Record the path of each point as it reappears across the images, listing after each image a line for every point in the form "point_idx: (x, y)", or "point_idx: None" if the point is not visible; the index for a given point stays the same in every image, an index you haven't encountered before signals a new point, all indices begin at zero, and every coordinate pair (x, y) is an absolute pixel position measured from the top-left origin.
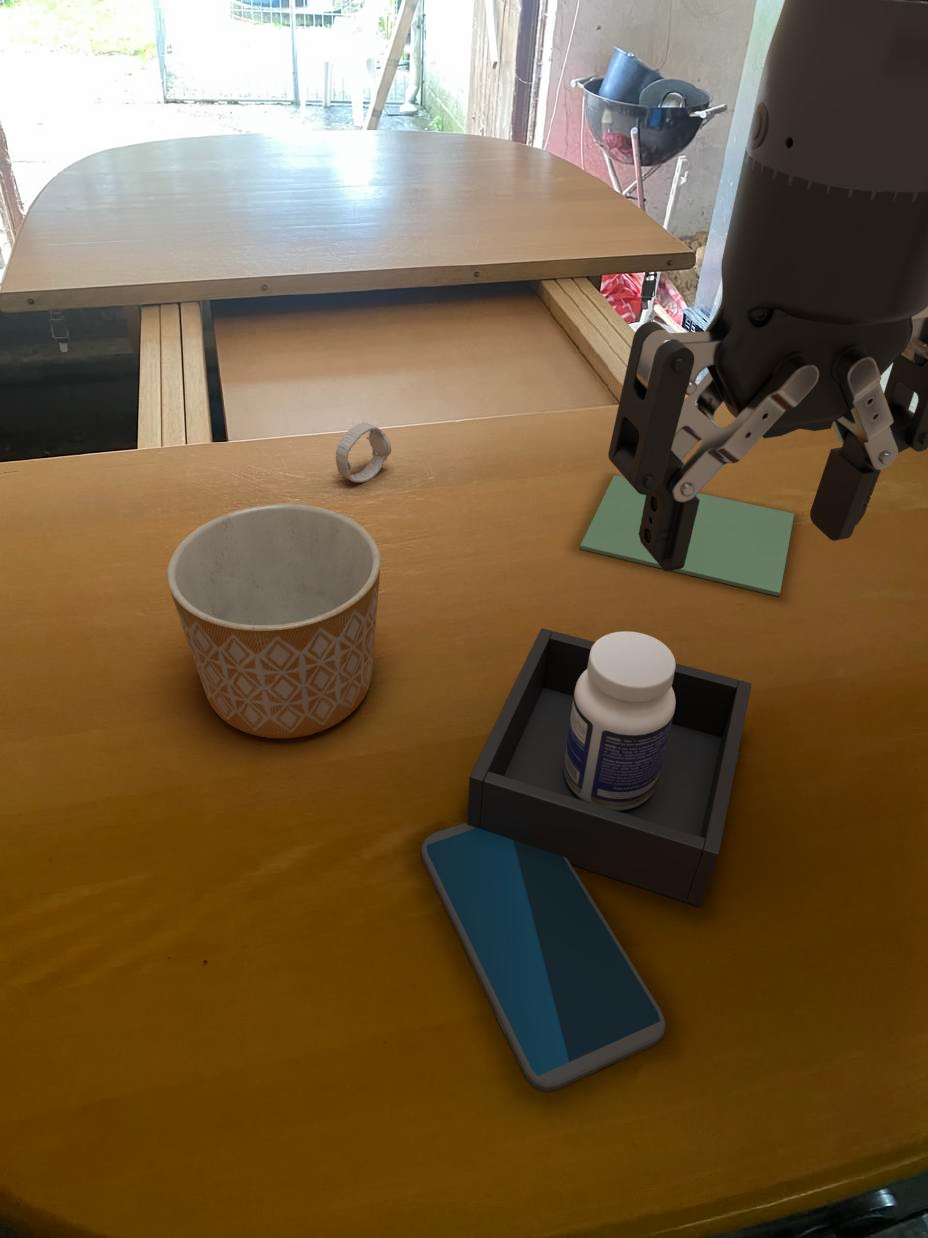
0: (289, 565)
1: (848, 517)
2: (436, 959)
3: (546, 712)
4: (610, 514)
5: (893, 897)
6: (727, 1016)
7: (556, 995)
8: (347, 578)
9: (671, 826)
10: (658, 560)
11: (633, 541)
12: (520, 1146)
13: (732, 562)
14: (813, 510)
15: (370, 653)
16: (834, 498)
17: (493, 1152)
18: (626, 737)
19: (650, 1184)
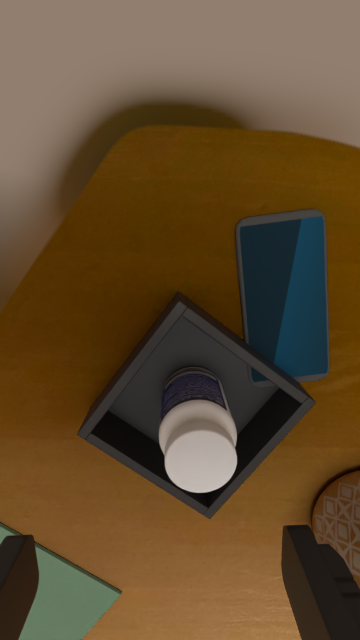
0: None
1: (5, 571)
2: (343, 301)
3: None
4: (83, 621)
5: (52, 265)
6: (197, 221)
7: (291, 258)
8: None
9: (169, 349)
10: (323, 544)
11: (78, 591)
12: (341, 186)
13: None
14: (33, 596)
15: (336, 521)
16: (8, 616)
17: (355, 187)
18: (212, 401)
19: (284, 146)
